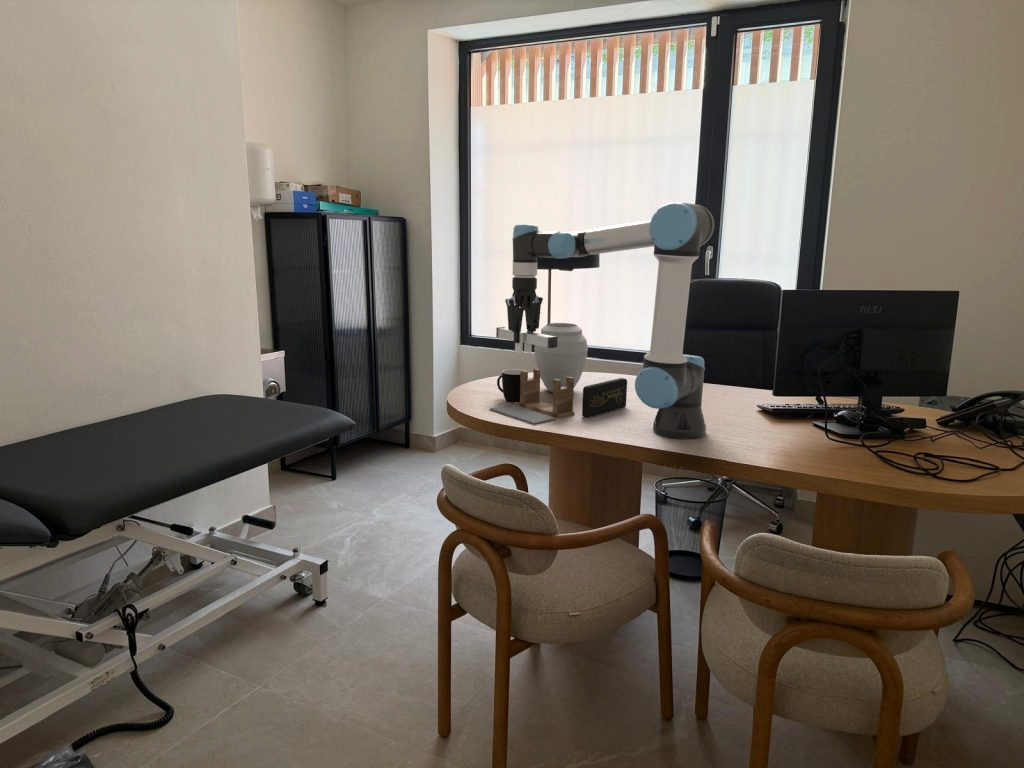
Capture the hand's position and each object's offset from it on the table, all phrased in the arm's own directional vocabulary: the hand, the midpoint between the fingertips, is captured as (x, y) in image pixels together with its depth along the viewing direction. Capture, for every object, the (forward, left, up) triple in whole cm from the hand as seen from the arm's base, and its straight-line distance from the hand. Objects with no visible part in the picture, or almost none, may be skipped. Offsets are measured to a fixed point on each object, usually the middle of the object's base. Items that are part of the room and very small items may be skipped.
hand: (523, 352), depth 216 cm
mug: (+18, -10, -20) cm, 29 cm away
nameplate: (-13, -24, -21) cm, 34 cm away
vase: (+18, -33, -20) cm, 43 cm away
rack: (0, -10, -20) cm, 22 cm away
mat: (0, 0, -20) cm, 20 cm away
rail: (-1, 0, +3) cm, 4 cm away
